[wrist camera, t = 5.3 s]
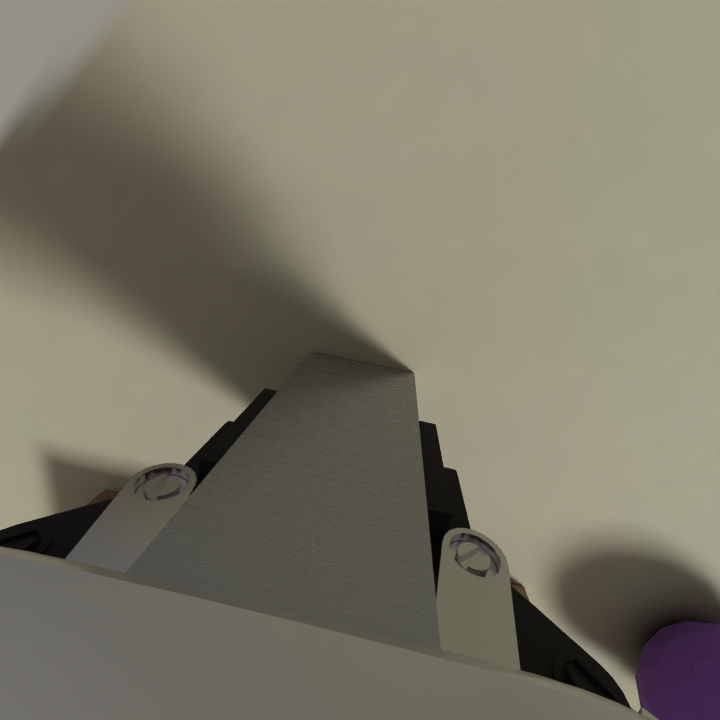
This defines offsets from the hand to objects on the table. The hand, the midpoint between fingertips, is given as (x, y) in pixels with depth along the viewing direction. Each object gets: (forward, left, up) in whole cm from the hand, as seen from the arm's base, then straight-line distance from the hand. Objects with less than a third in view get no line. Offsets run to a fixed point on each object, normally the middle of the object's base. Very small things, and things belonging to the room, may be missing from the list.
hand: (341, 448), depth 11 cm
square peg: (0, 0, -3) cm, 3 cm away
